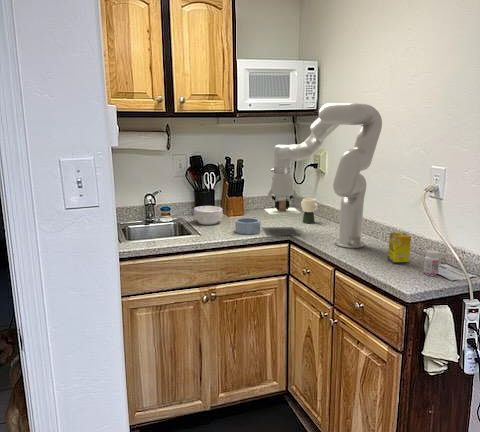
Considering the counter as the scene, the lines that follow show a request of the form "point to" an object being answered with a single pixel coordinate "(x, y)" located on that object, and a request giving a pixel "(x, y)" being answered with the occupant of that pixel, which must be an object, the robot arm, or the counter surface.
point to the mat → (280, 231)
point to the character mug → (309, 209)
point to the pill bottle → (431, 262)
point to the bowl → (247, 226)
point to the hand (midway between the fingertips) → (282, 208)
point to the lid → (282, 210)
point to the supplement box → (399, 248)
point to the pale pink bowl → (208, 214)
